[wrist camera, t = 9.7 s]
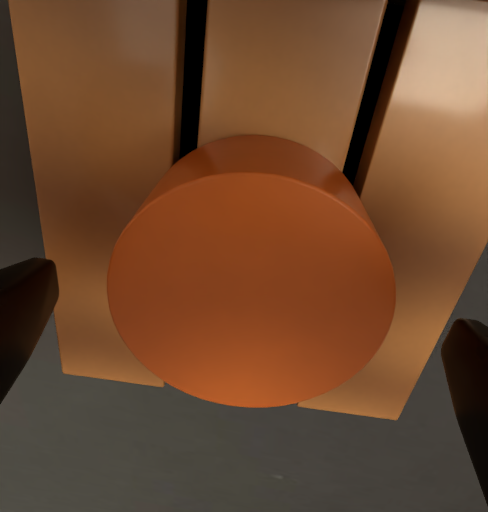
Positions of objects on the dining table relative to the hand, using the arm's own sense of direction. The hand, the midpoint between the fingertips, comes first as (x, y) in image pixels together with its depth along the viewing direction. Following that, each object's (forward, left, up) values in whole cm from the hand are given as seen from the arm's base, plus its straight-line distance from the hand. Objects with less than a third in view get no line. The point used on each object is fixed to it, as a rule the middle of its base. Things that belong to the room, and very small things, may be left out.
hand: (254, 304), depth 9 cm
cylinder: (0, 0, -3) cm, 3 cm away
